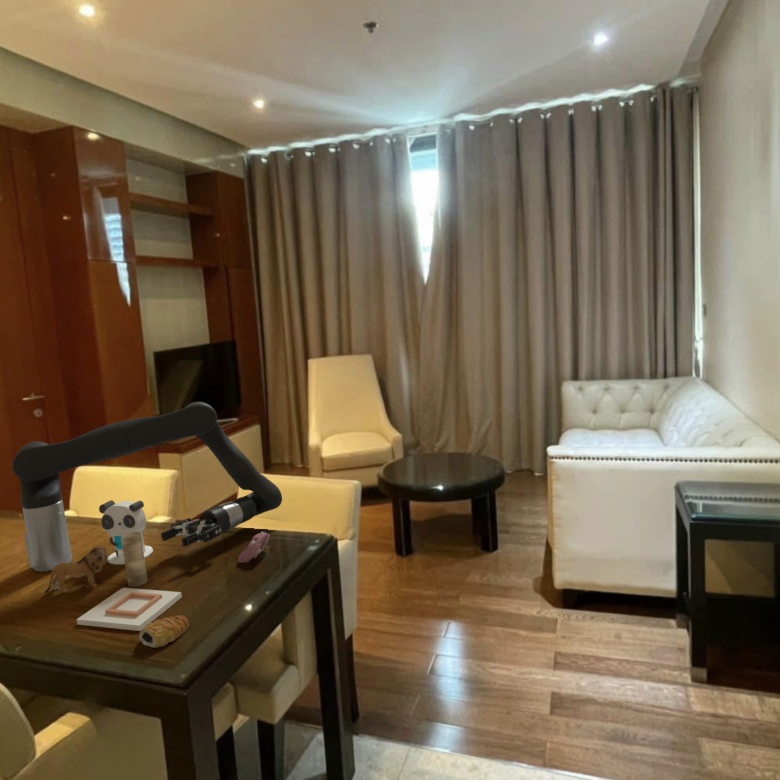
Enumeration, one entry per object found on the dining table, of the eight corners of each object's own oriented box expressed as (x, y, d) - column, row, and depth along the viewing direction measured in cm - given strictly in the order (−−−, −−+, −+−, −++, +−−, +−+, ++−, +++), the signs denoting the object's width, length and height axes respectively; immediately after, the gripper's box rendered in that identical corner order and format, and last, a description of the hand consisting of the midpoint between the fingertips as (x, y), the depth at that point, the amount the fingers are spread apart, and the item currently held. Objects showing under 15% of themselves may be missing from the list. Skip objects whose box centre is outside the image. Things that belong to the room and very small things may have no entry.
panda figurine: (96, 563, 159) (87, 509, 156) (125, 545, 169) (117, 494, 167) (134, 565, 155) (126, 510, 153) (161, 547, 166) (154, 495, 164)
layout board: (77, 624, 127) (76, 615, 127) (123, 592, 140) (122, 584, 140) (140, 630, 123) (139, 621, 122) (181, 597, 136) (180, 588, 136)
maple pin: (124, 586, 144) (116, 539, 142) (136, 577, 148) (129, 531, 146) (139, 587, 142) (132, 539, 141) (151, 578, 147) (144, 532, 145)
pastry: (176, 621, 126) (174, 604, 125) (197, 629, 122) (195, 611, 122) (136, 643, 118) (134, 626, 118) (157, 653, 115) (155, 634, 114)
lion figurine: (111, 574, 151) (106, 540, 150) (112, 582, 146) (106, 548, 145) (44, 591, 144) (38, 556, 143) (43, 600, 140) (37, 564, 138)
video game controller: (251, 569, 151) (260, 546, 149) (235, 562, 152) (244, 538, 150) (266, 553, 161) (275, 531, 159) (251, 545, 161) (260, 523, 159)
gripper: (203, 502, 170) (153, 522, 156) (238, 508, 162) (188, 530, 148) (207, 527, 171) (157, 549, 158) (241, 535, 163) (191, 558, 149)
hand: (172, 540), depth 153 cm, fingers open, 8 cm apart
